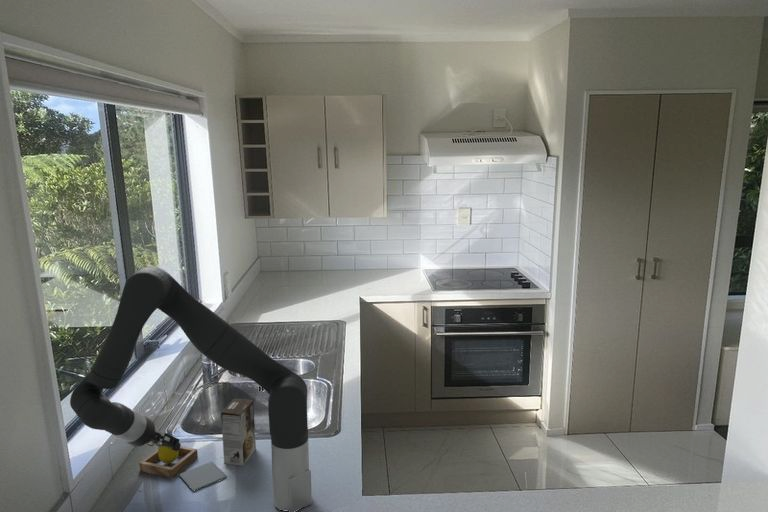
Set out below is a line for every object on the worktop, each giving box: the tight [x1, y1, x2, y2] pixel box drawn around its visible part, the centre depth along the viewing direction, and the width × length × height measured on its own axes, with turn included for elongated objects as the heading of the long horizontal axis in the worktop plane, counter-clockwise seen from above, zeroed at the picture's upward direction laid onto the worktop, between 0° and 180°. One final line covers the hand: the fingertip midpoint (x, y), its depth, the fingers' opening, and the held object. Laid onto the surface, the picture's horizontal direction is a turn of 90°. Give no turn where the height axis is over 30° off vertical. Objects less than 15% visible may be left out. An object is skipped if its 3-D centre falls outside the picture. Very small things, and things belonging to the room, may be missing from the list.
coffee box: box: [220, 398, 257, 466], centre depth 157 cm, size 9×6×16 cm
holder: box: [138, 446, 199, 479], centre depth 154 cm, size 11×11×2 cm
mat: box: [178, 461, 228, 492], centre depth 148 cm, size 10×10×1 cm
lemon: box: [157, 442, 179, 465], centre depth 154 cm, size 6×6×8 cm
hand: (165, 445), depth 153 cm, fingers open, 8 cm apart
